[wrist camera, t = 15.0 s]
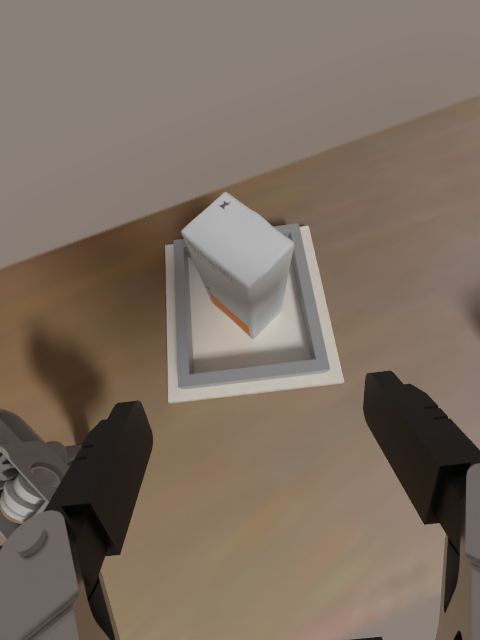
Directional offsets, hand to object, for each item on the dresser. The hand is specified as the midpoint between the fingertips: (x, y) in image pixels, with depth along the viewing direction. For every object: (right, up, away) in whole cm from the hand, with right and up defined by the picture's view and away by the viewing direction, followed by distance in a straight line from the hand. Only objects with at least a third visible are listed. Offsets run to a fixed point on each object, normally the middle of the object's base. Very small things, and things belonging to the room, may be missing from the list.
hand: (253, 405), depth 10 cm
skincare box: (0, +4, +18) cm, 19 cm away
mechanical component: (-14, -9, +16) cm, 23 cm away
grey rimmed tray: (0, +4, +19) cm, 20 cm away
